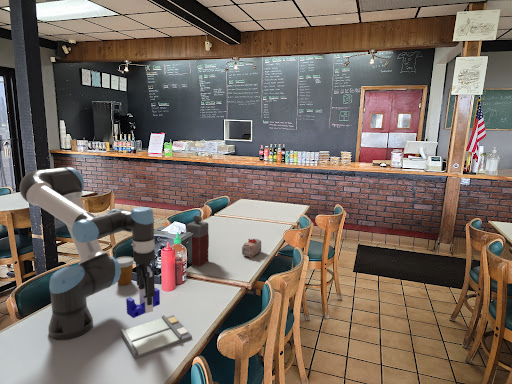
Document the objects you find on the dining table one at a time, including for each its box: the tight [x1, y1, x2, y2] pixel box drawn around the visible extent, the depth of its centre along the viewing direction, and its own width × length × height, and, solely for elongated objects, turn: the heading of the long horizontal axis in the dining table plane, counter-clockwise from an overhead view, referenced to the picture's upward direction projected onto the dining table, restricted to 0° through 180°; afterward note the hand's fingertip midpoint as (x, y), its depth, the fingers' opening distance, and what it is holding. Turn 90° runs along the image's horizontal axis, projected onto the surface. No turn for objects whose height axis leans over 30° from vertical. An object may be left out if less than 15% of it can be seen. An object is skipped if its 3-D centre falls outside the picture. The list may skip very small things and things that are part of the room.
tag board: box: [120, 314, 193, 360], centre depth 131 cm, size 17×21×2 cm
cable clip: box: [125, 287, 161, 319], centre depth 130 cm, size 12×4×6 cm, turn 138°
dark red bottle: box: [185, 214, 210, 267], centre depth 198 cm, size 9×11×28 cm
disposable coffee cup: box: [115, 256, 135, 286], centre depth 172 cm, size 10×10×12 cm
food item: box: [241, 238, 262, 259], centre depth 214 cm, size 14×8×10 cm, turn 153°
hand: (146, 308), depth 131 cm, fingers closed on cable clip, 5 cm apart
